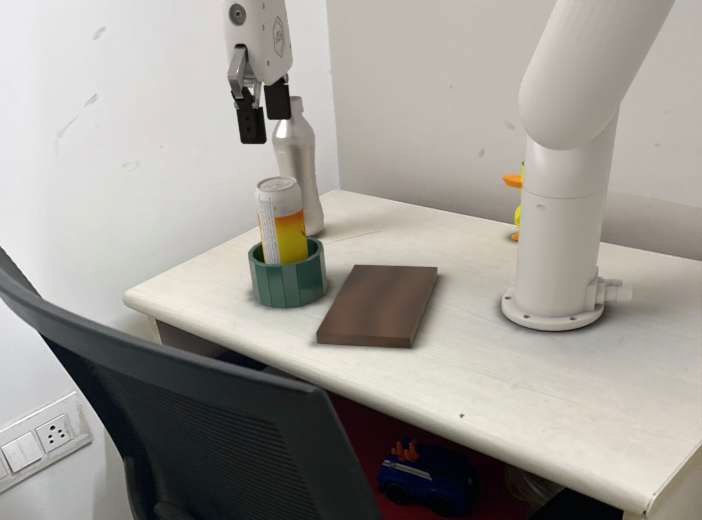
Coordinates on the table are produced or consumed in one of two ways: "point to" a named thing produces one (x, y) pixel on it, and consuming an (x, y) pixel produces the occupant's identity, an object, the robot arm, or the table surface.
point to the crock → (289, 277)
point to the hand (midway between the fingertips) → (267, 130)
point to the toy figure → (517, 183)
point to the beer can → (281, 220)
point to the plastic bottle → (299, 161)
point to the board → (379, 306)
